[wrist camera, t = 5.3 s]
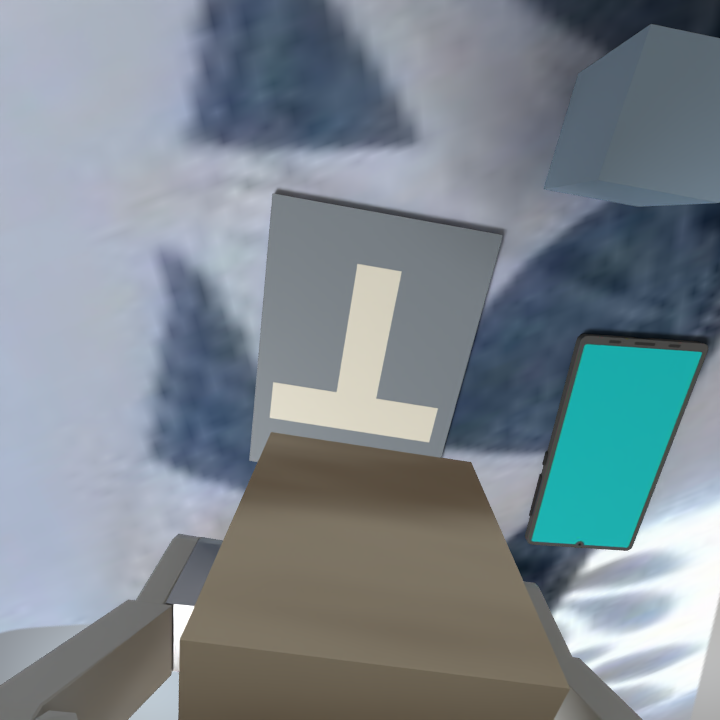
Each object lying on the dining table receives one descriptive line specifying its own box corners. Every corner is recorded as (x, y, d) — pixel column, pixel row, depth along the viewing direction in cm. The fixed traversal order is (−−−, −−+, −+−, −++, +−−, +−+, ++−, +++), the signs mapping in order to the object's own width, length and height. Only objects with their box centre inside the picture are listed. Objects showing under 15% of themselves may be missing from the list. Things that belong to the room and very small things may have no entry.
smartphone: (710, 344, 22) (630, 551, 27) (698, 340, 23) (623, 541, 28) (580, 335, 22) (525, 544, 27) (573, 331, 23) (520, 535, 28)
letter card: (273, 193, 20) (272, 193, 20) (501, 234, 21) (503, 235, 20) (250, 457, 25) (249, 460, 25) (431, 484, 26) (432, 488, 26)
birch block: (271, 431, 10) (178, 639, 5) (471, 462, 10) (570, 688, 5) (255, 583, 11) (176, 847, 6) (426, 606, 11) (469, 876, 7)
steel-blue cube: (577, 74, 18) (651, 23, 14) (679, 94, 18) (786, 52, 14) (542, 189, 20) (597, 180, 15) (636, 206, 20) (718, 202, 15)
